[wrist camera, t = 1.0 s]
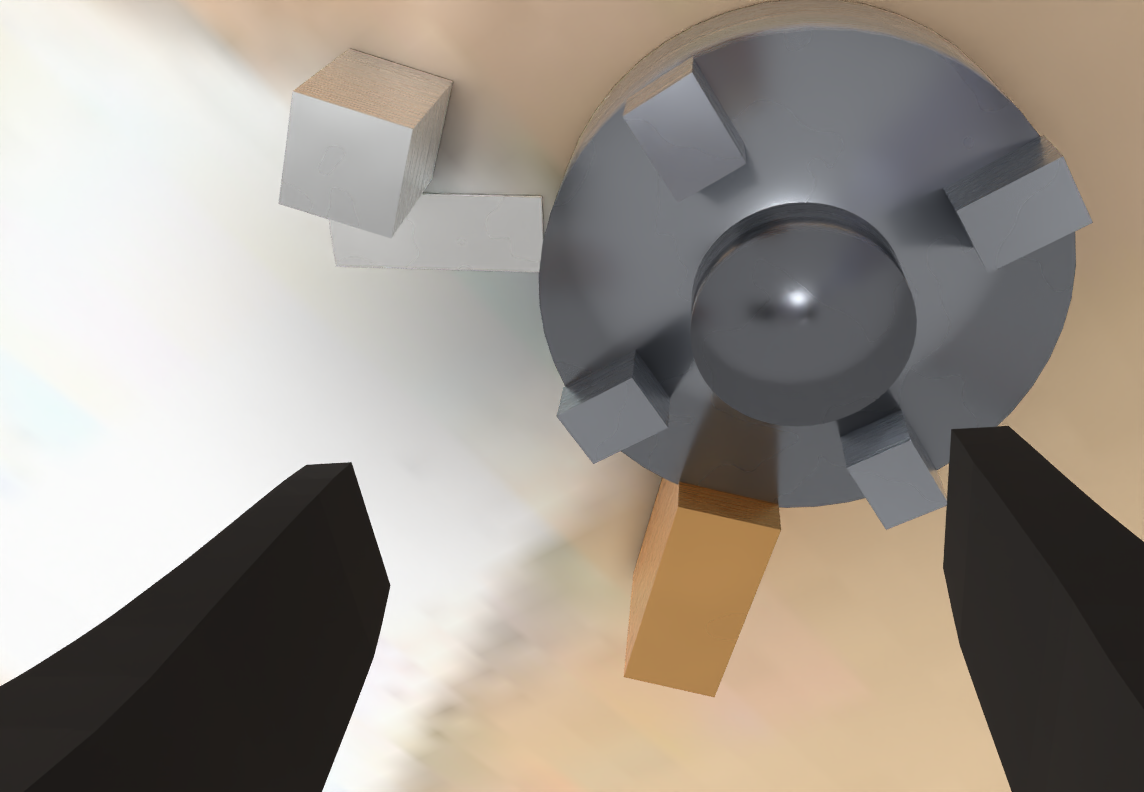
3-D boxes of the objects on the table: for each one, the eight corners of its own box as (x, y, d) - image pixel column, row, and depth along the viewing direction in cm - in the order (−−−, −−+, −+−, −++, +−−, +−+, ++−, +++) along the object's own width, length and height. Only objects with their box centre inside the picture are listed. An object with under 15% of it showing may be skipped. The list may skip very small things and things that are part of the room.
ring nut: (607, -54, 17) (585, -16, 14) (1124, 62, 17) (1219, 127, 14) (493, 541, 24) (461, 655, 21) (853, 622, 24) (875, 748, 21)
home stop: (577, 100, 19) (556, 151, 16) (537, 309, 21) (513, 382, 18) (334, 45, 19) (275, 86, 16) (321, 260, 21) (269, 327, 18)
